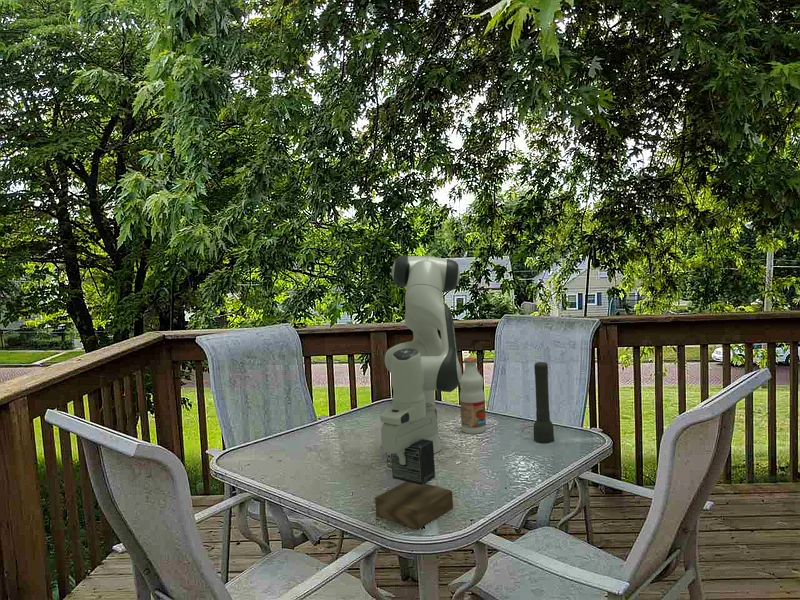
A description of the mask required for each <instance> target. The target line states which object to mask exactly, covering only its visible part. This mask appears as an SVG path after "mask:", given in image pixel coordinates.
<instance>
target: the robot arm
mask: <svg viewBox="0 0 800 600" xmlns="http://www.w3.org/2000/svg"><path fill="white" fill-rule="evenodd" d="M391 278H392V280H393V283H394V284H395V285H396V286H398V287H400V288H403V289H405V295H404V306H405V313H404V325H405V326H406V327H407V329H409V330H411V331H412V335H413V339H412V340H411V341H406V342H401V343H397V344H395V345H394V346H392V347H390V348H388V349H387V350H386V351H385V353H384V365H385V368H386V369H387V371H388V372H389V373H390V384H391V387H392V390H393V393H392V394H393V395H392V404H390V405H389V406H388V408H387V409H386V410H384V411H383V412H382V413H381V415H380V416H379V417H380V418H379V419H380V422H381V423H383V424H382V425H381V427H380V428H381V429H380V438H381V446H380V447H382V451H384V452H385V453H387V454H390V455H391V454H395V453H396V454H397V456H398V457H399V462H400V464H401V465H405V464H407V463H408V457H405V455H404V452H405V448H408V447H409V446H410V445H412V444H414V443H416V442H418V441H420V440H423V439H424V440H430V441H433V450H434V454H436V453H439V452H440V451H442V450H443V446H442V442H441V439H440V434H439V425H438V412H437V411H438V410H437V408H436V396H435V395H436V394H435V391H438V392H444V393H451V392H453V391H454V390H456V389H457V388H458V387H459V386H460V383H461V378H462V375H463V372H462V367H461V364H460V361H459V355H458V354H459V353H458V345H457V338H456V330H455V322H454V317H453V315H452V313H453V312H452V311H451V309H450V307H449V306H447V305H445V304H444V302H443V293H447V292H451V291H454V290H455V289H456V288H457V286H458V284H459V282H460V279H461V270H460V268H459V264H458V262H457V261H456V260H453V259H449V258H447V259H445V258H441V257H436V256H430V255H428V256H424V255H422V256H421V255H412V256H411V255H410V256H409V255H407V254H406V255H400V256H398V257H397V258H395V260H394V263H393V264H392V266H391ZM438 331H439V332H440V336H439V332H438Z"/></svg>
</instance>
